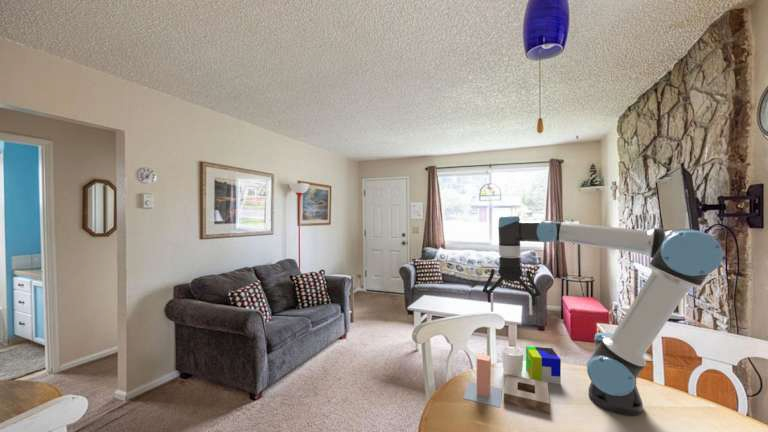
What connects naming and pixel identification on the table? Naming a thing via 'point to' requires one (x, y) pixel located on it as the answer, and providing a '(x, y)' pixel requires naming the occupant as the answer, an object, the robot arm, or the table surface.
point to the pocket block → (527, 394)
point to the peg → (483, 375)
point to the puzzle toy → (543, 364)
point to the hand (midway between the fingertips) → (511, 312)
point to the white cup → (512, 361)
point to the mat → (472, 395)
